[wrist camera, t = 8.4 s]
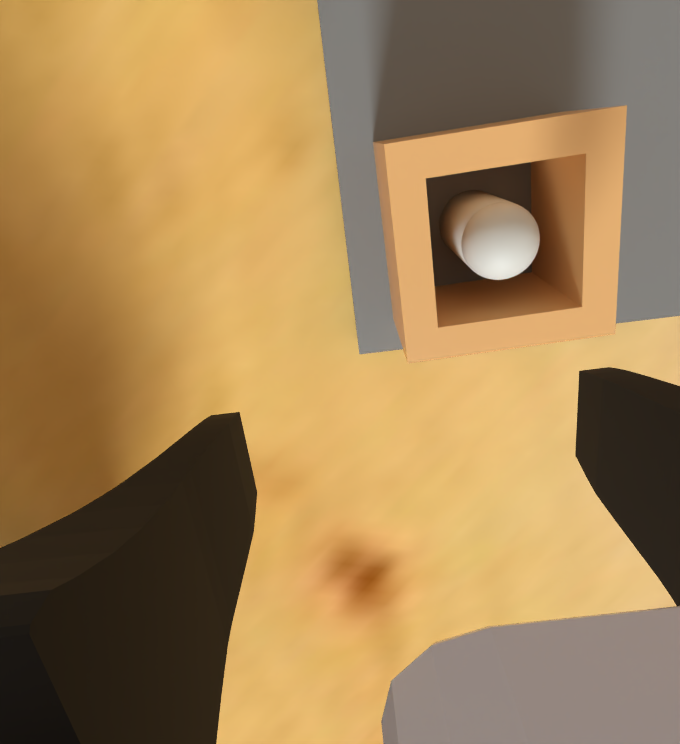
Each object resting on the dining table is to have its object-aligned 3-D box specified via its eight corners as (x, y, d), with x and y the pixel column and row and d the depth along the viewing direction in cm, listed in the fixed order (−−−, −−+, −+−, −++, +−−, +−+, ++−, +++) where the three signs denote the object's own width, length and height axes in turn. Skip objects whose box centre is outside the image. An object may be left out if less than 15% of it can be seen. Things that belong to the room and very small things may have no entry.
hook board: (656, 303, 20) (771, 363, 15) (357, 339, 21) (366, 410, 15) (699, -107, 16) (890, -234, 10) (311, -50, 16) (299, -141, 11)
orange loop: (559, 294, 19) (615, 334, 15) (393, 318, 19) (407, 363, 15) (561, 111, 16) (626, 105, 13) (372, 142, 17) (384, 144, 13)
